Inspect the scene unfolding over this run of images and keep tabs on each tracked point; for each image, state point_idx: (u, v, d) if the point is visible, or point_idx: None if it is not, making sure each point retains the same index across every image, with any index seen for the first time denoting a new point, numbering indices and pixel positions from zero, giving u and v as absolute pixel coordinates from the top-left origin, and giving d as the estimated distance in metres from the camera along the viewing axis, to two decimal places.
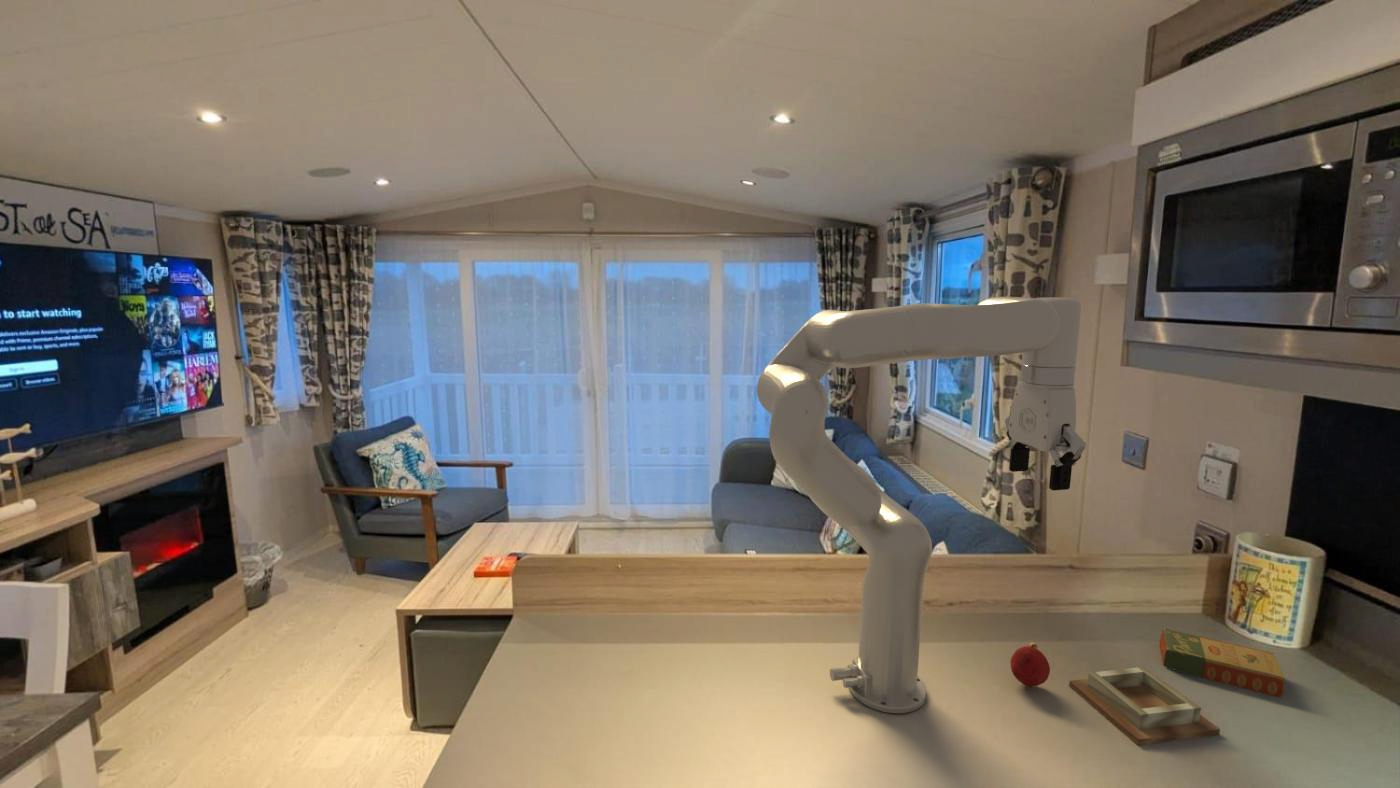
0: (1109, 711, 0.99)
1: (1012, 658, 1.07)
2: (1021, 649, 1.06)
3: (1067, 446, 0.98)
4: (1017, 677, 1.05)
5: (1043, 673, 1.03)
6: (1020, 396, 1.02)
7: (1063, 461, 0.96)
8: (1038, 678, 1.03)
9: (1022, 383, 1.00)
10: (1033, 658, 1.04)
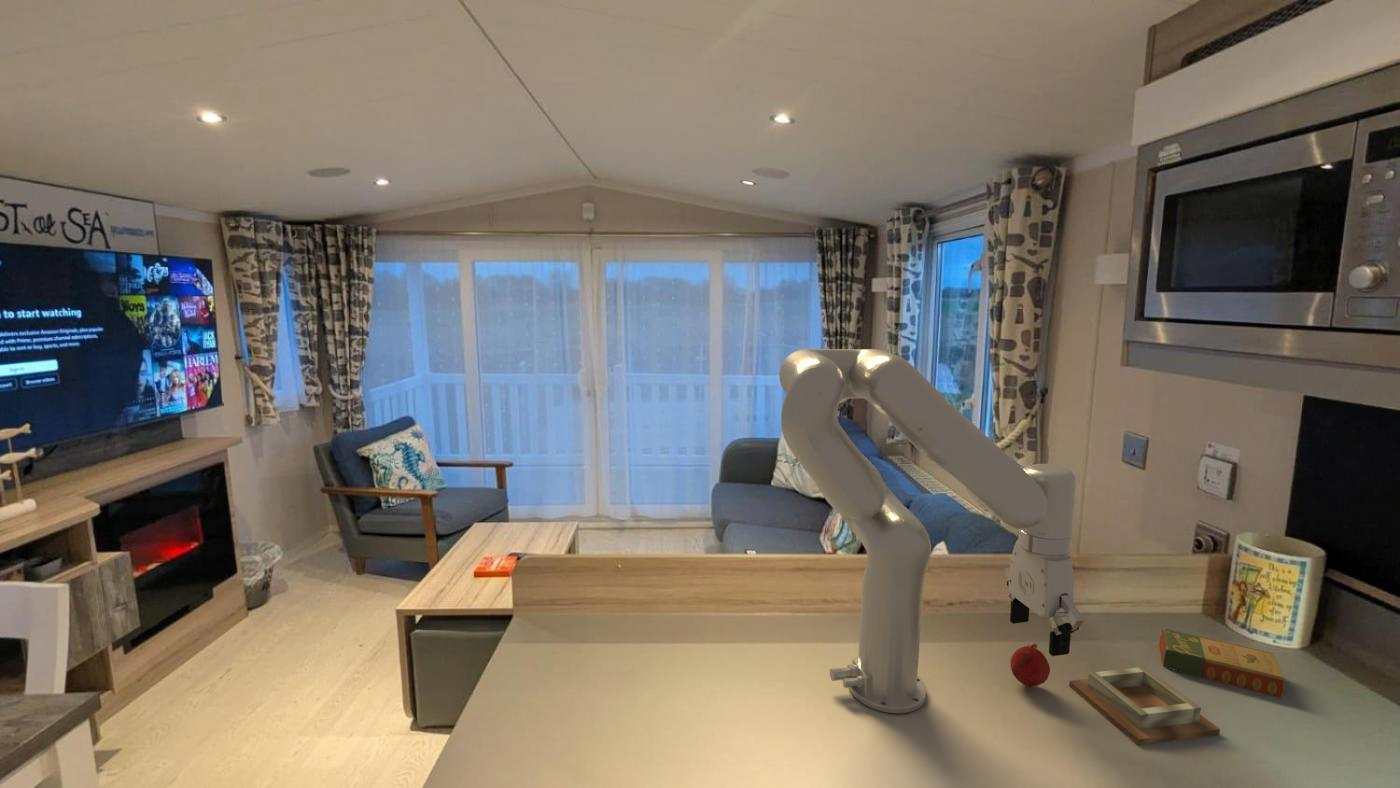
0: (1109, 711, 0.99)
1: (1012, 658, 1.07)
2: (1021, 649, 1.06)
3: (1065, 613, 1.00)
4: (1017, 677, 1.05)
5: (1043, 673, 1.03)
6: (1018, 557, 1.05)
7: (1062, 631, 0.98)
8: (1038, 678, 1.03)
9: (1020, 547, 1.03)
10: (1033, 658, 1.04)
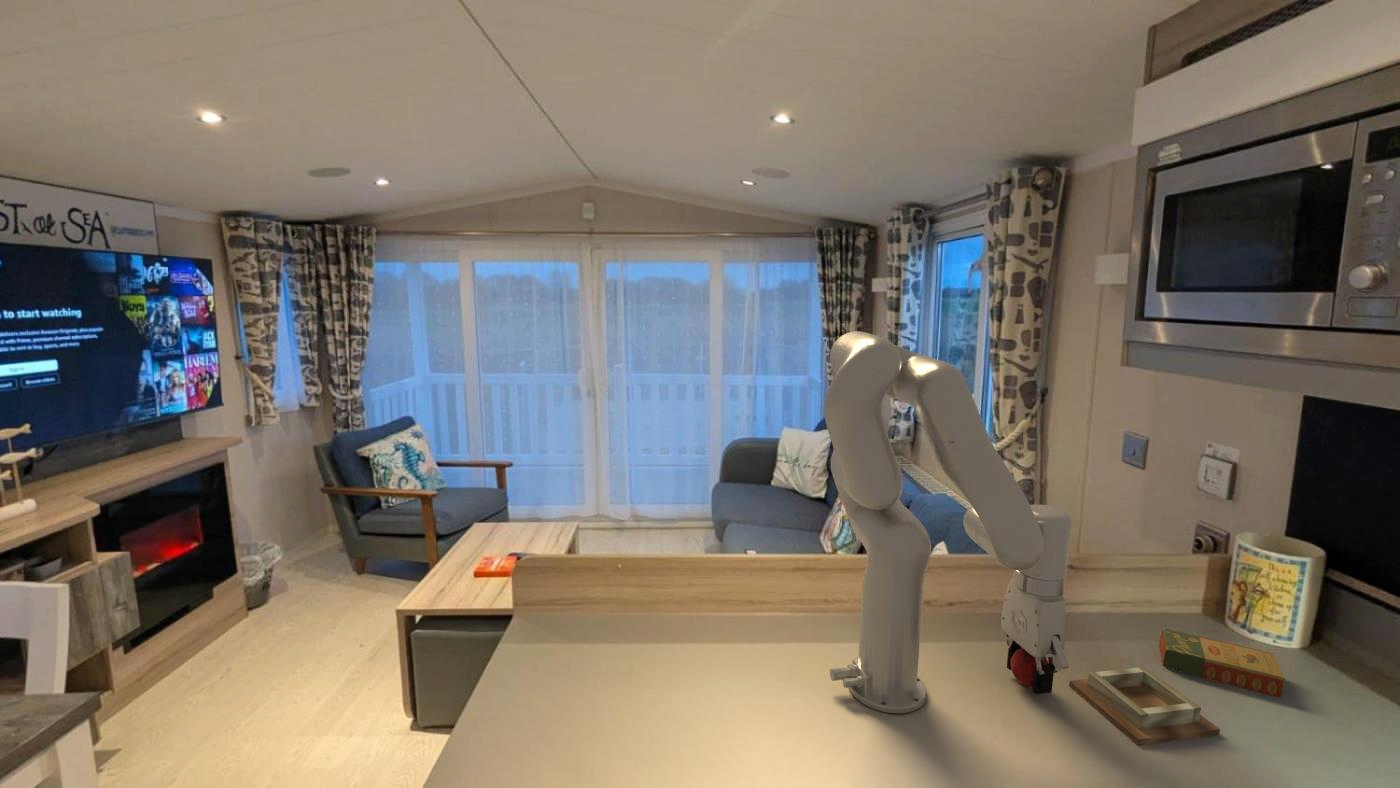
0: (1109, 711, 0.99)
1: (1012, 658, 1.07)
2: (1021, 649, 1.06)
3: (1053, 654, 1.02)
4: (1017, 677, 1.05)
5: None
6: (1012, 595, 1.06)
7: (1045, 670, 1.01)
8: None
9: (1014, 586, 1.04)
10: (1033, 658, 1.04)
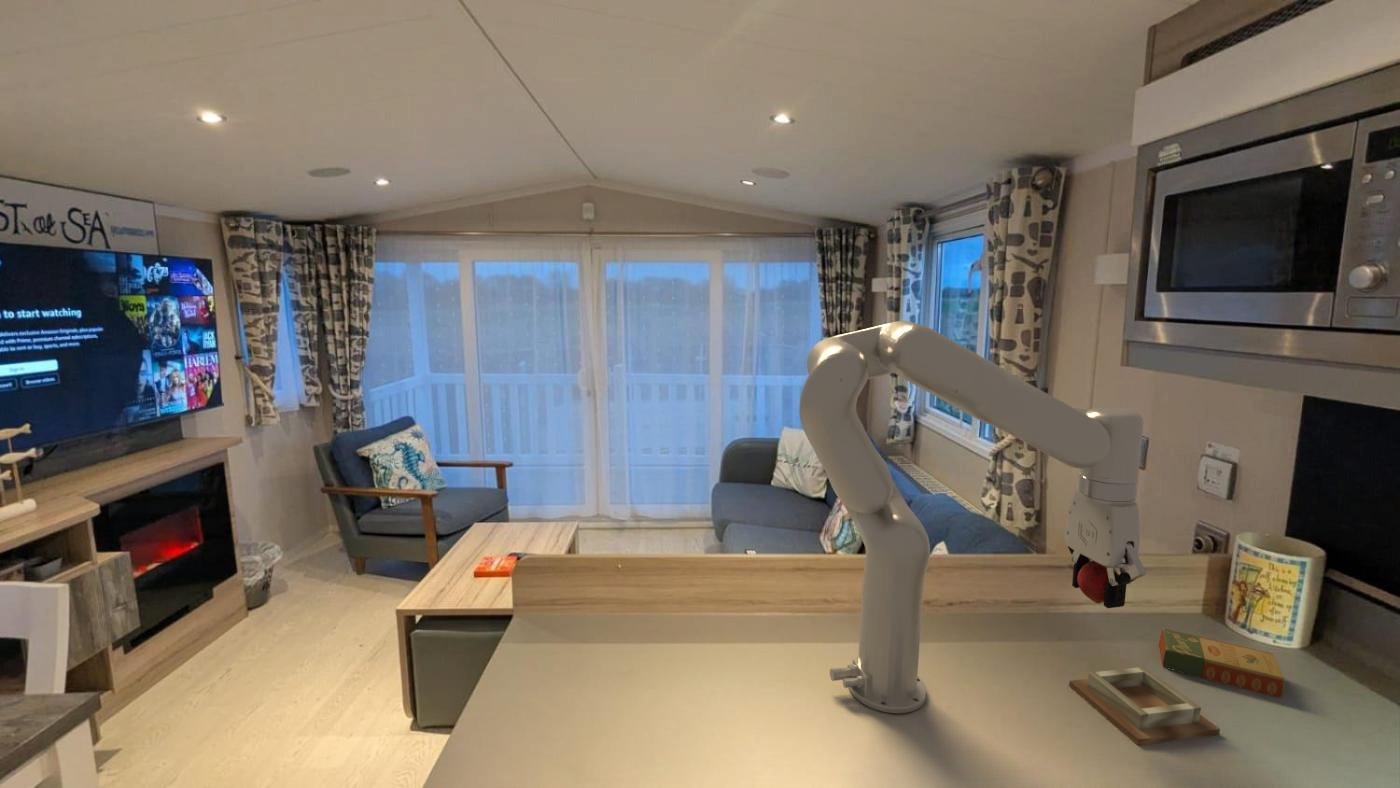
0: (1109, 711, 0.99)
1: (1079, 573, 1.01)
2: (1089, 563, 1.00)
3: (1126, 564, 0.96)
4: (1086, 592, 1.00)
5: None
6: (1078, 506, 1.00)
7: (1119, 581, 0.95)
8: None
9: (1082, 495, 0.98)
10: (1103, 571, 0.98)
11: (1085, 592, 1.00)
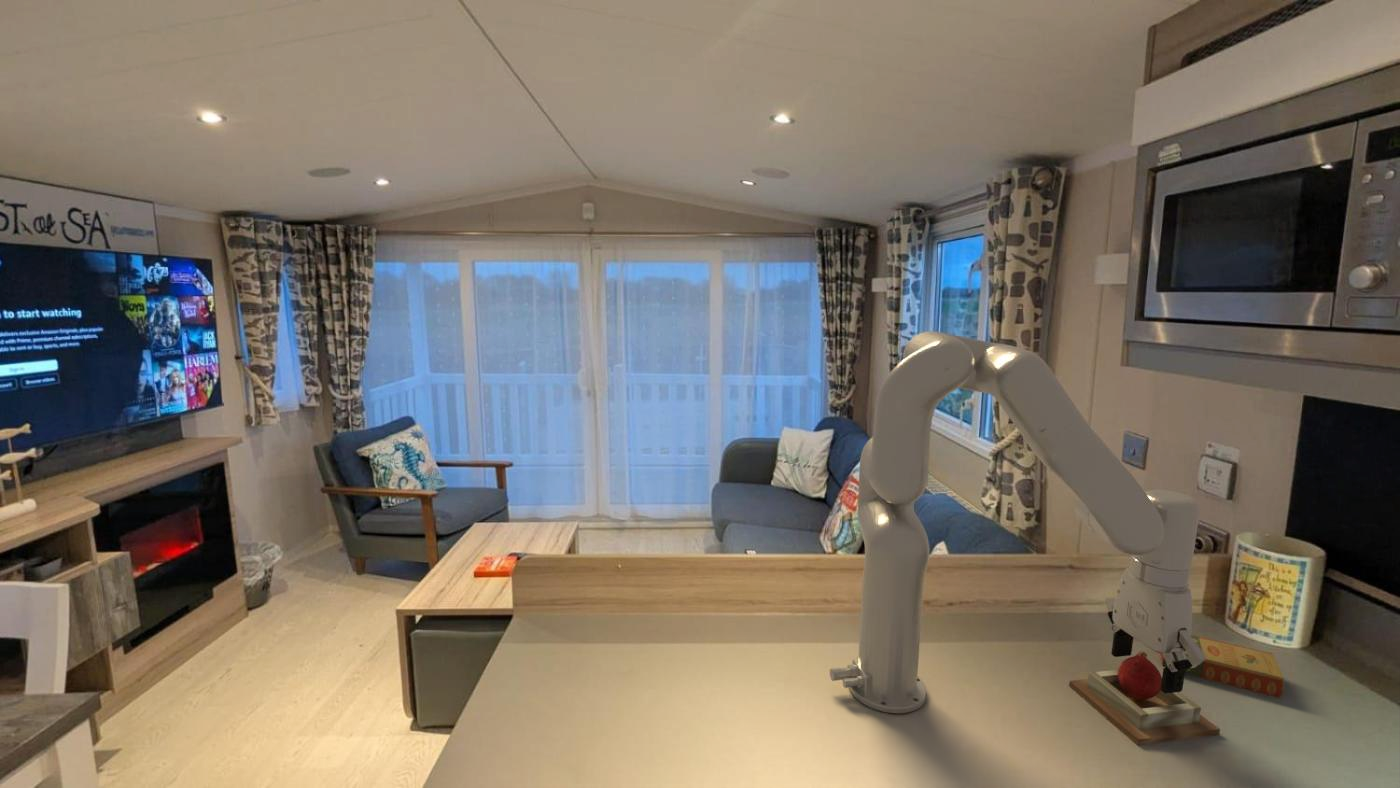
0: (1109, 711, 0.99)
1: (1120, 669, 1.02)
2: (1129, 659, 1.02)
3: (1181, 648, 0.95)
4: (1128, 689, 1.00)
5: (1157, 683, 0.98)
6: (1128, 587, 0.99)
7: (1178, 668, 0.93)
8: (1152, 688, 0.98)
9: (1133, 577, 0.97)
10: (1144, 667, 0.99)
11: (1127, 688, 1.00)
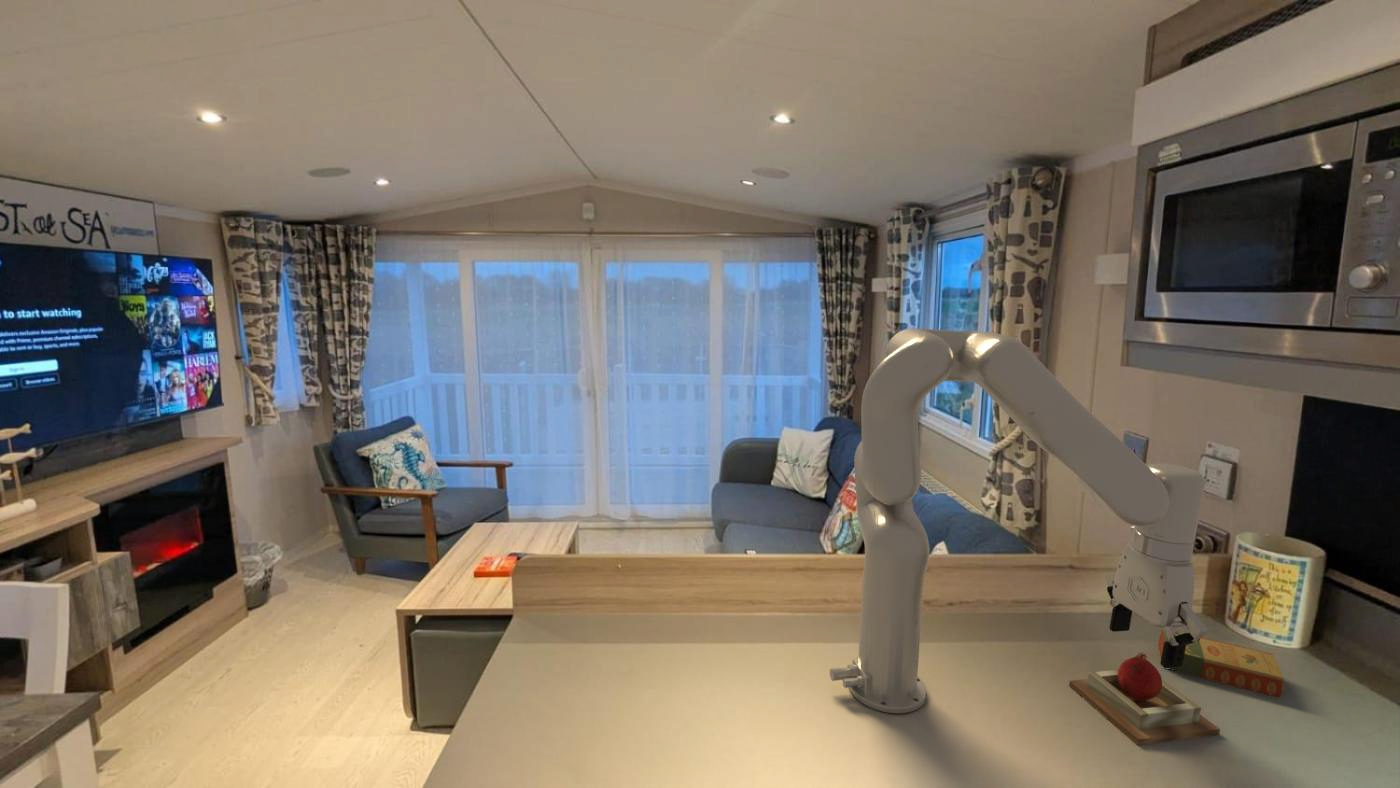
0: (1109, 711, 0.99)
1: (1120, 670, 1.02)
2: (1129, 660, 1.01)
3: (1182, 623, 0.94)
4: (1128, 690, 1.00)
5: (1156, 685, 0.98)
6: (1130, 561, 0.99)
7: (1179, 641, 0.92)
8: (1152, 690, 0.98)
9: (1135, 551, 0.97)
10: (1144, 669, 0.99)
11: (1126, 690, 1.00)
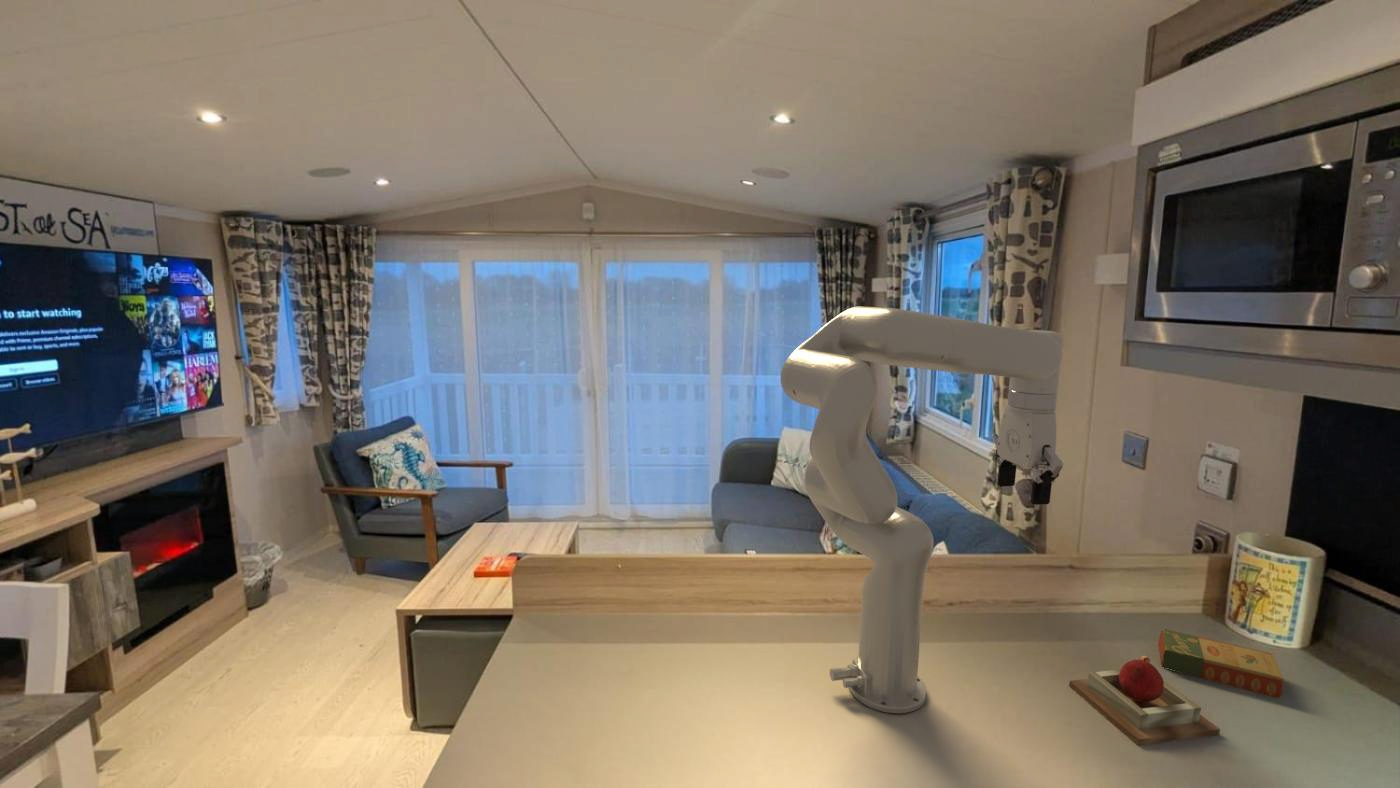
0: (1109, 711, 0.99)
1: (1122, 672, 1.01)
2: (1132, 663, 1.01)
3: (1048, 465, 1.08)
4: (1129, 692, 1.00)
5: (1158, 689, 0.98)
6: (1007, 418, 1.13)
7: (1043, 479, 1.07)
8: (1154, 693, 0.98)
9: (1009, 407, 1.11)
10: (1147, 673, 0.99)
11: (1127, 692, 1.00)
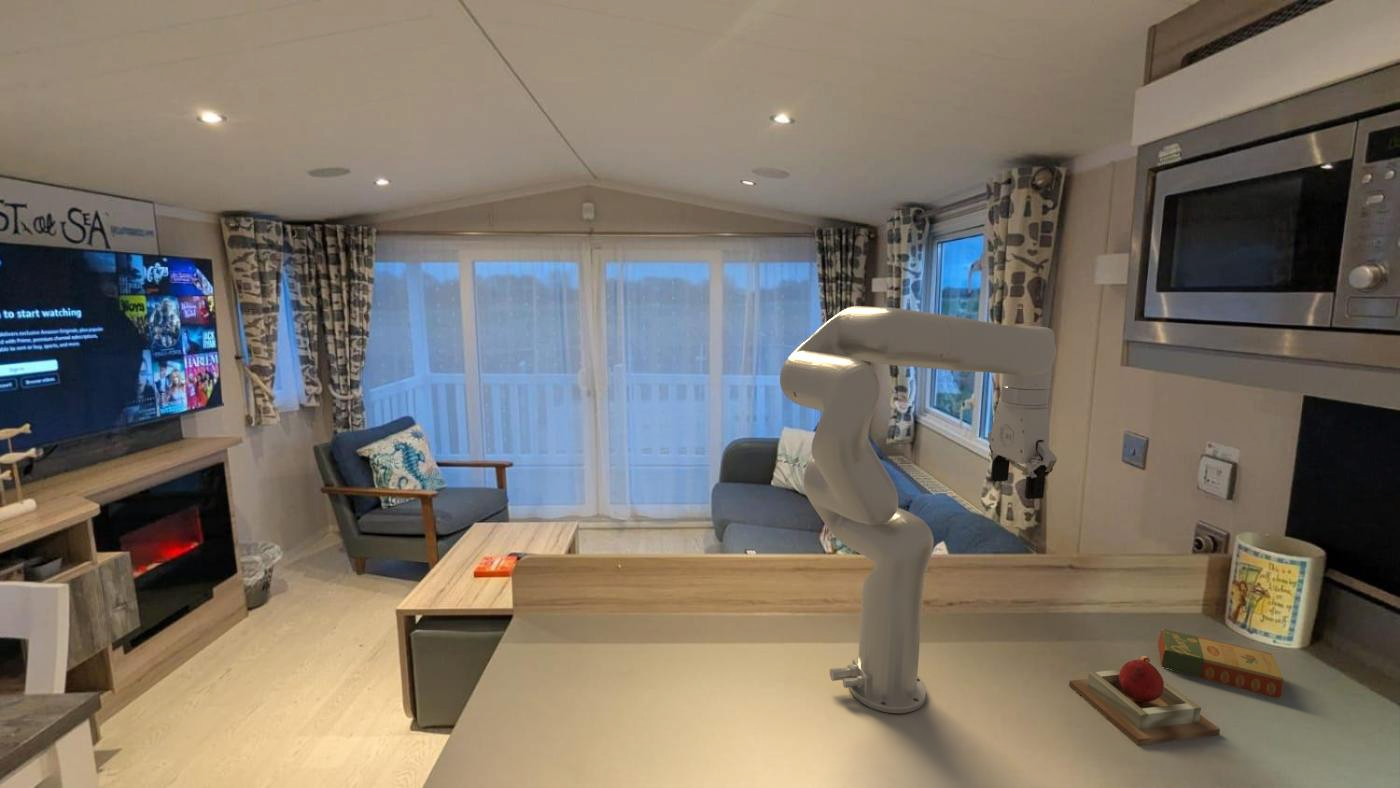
0: (1109, 711, 0.99)
1: (1122, 672, 1.01)
2: (1132, 663, 1.01)
3: (1041, 459, 1.09)
4: (1129, 692, 1.00)
5: (1158, 689, 0.98)
6: (1000, 414, 1.14)
7: (1037, 473, 1.08)
8: (1153, 694, 0.98)
9: (1002, 402, 1.12)
10: (1147, 673, 0.99)
11: (1127, 692, 1.00)
